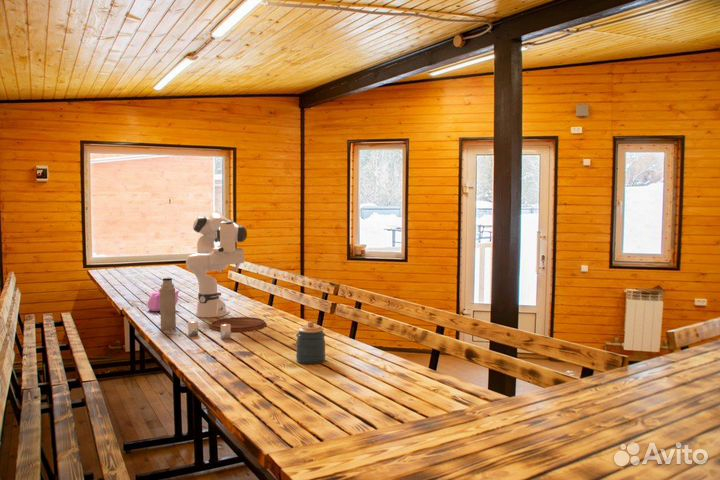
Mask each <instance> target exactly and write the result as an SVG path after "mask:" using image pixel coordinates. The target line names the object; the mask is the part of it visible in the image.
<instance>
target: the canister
mask: <svg viewBox="0 0 720 480" xmlns="http://www.w3.org/2000/svg"><path fill="white" fill-rule="evenodd" d="M297 331H298V332H297V333H296V334H295V335H296V337H297V338H296V342H295V344H296V355H295V358H296V362H297V363H299V364H303V365H318V364H322V363H324V362H325V361H326V358H327V356H326V339H325V337H326V335H327V334H326V332H324V328H323V327H321V325H318V324H315V323H314V321H308V323H307V324H304V325H301V326H300V327H299V328H297Z"/></svg>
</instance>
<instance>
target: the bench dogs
mask: <svg viewBox="0 0 720 480" xmlns="http://www.w3.org/2000/svg"><path fill="white" fill-rule="evenodd" d="M231 333H232V332H231V325H230V324H222V325H221V332H220V339H221V340H230V339H231V337H232V335H231ZM187 336H188V337H197V336H199V321H197V320H194V321H193V320H191V321H188V322H187Z"/></svg>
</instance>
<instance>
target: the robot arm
mask: <svg viewBox="0 0 720 480" xmlns="http://www.w3.org/2000/svg"><path fill="white" fill-rule="evenodd" d="M192 229H193V231H194V232H196V233H198V234H201V236H199V238H198V240H197V243H196V250H197V251H196V252H197V253H194V254H189V255H188V256H187V258H186V260H185V265H186V268H187V270H189V271H190V272H192V273H193V274H194V275H195V277H196V279H197V283H198V295H197V298H198V301H197V302H196V303H197V305H196V312H195V316H196V317H198V318H217V317H220V318H221V317H223V316H225V315H228V314H229V313H230V310H228V309H227V308H226V307H227V306H226V303H225V302H224V301H223V300H221V299H220V296H222V292H218V280H217V279H216V278H215V277H213V276H211V275H208V274H207V273H208V272H210V271H211V272H216V271H217V272H218V273H223V270H226V269H227V268H228V267H229V265H235V267H234V268H233V272H238V268H239V266H240V264H244V263H245V249H244V248H243V247H236V243H244V242H245V240H246V239H247V238H248V237H247V236H248V232H247V229H246V227H245V226H243V225H240V224H238V222H235V221H233V220H231V219H228V218H227V217H225V215H224V214H222V213H220V212H217V211H216V212H213V213H211V214H210V215H209V217H206V216H198V217H196V218H195V220H194V221H193V224H192ZM218 242H219V245H218V246H216V247H215V243H218Z"/></svg>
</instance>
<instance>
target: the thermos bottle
mask: <svg viewBox="0 0 720 480" xmlns="http://www.w3.org/2000/svg"><path fill="white" fill-rule="evenodd" d="M160 286H161V288H159V289H160V311H159V312H160V329H161V330H174V329H175V328H176V326H177V325H176V324H177V323H176V321H177V319H176V316H177V313H176V304H175V292H176V288H175V284H174V283H173V278H171V277H170V278H169V277H166V278H164V277H163V278H162V284H161V285H160Z"/></svg>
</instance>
